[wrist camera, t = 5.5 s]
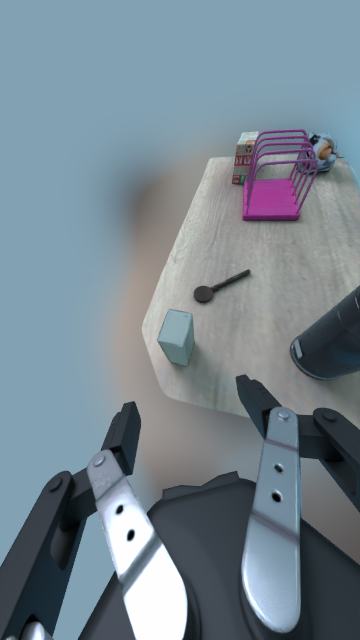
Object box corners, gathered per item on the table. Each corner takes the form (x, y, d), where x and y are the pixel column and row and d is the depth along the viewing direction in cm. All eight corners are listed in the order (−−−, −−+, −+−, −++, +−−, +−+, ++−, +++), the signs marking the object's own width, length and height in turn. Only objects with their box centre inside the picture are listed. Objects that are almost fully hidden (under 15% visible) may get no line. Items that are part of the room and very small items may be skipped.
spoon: (243, 267, 48) (244, 263, 47) (255, 278, 46) (256, 275, 44) (190, 292, 45) (190, 289, 44) (199, 305, 43) (199, 303, 42)
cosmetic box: (176, 336, 39) (168, 307, 29) (195, 341, 38) (193, 312, 28) (168, 362, 37) (155, 340, 26) (188, 368, 36) (182, 347, 25)
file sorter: (289, 184, 67) (312, 125, 54) (298, 220, 55) (329, 157, 42) (243, 185, 71) (254, 130, 57) (242, 220, 59) (254, 161, 45)
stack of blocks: (240, 162, 82) (245, 124, 71) (253, 162, 80) (261, 123, 70) (231, 183, 72) (236, 143, 62) (246, 184, 71) (255, 143, 60)
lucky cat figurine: (338, 168, 69) (364, 130, 56) (310, 190, 72) (328, 159, 58) (312, 146, 72) (330, 105, 59) (286, 168, 75) (298, 133, 61)
